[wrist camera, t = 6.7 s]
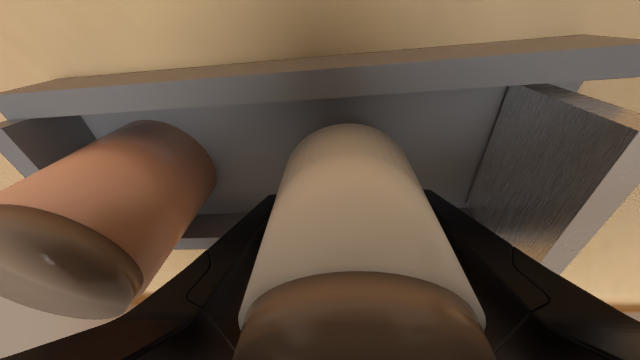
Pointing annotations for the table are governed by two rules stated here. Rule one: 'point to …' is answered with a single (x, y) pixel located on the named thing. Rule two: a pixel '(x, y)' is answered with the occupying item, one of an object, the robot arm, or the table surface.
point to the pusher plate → (555, 171)
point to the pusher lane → (309, 111)
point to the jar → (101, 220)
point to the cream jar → (357, 262)
